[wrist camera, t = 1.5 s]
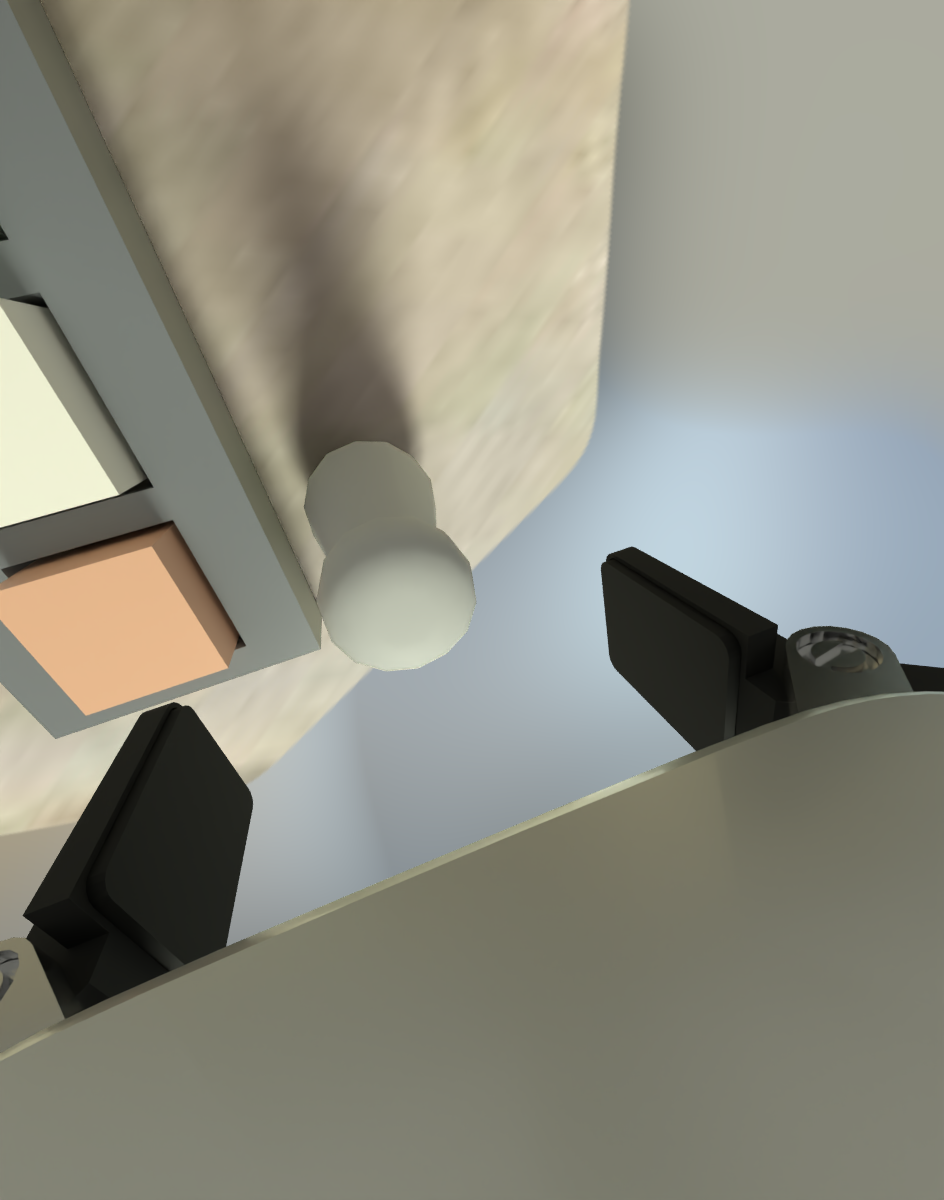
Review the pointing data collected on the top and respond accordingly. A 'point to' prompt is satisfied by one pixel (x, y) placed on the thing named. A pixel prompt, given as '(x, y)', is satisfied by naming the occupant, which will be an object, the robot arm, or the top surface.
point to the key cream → (53, 423)
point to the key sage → (3, 235)
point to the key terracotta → (120, 617)
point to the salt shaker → (386, 559)
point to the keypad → (127, 381)
